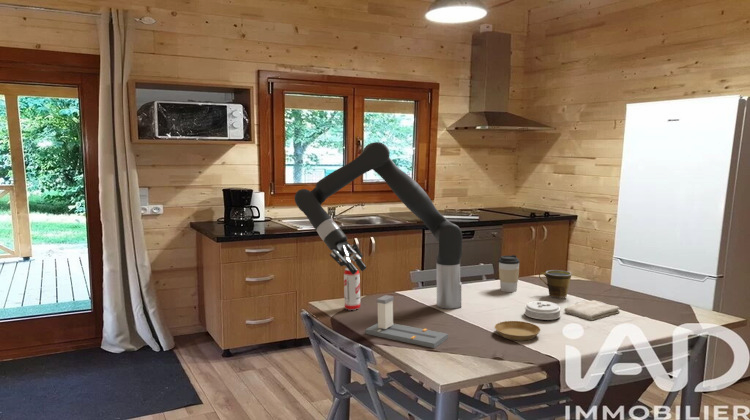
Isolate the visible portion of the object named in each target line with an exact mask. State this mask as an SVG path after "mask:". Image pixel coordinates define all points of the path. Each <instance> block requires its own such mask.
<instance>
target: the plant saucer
mask: <svg viewBox="0 0 750 420" xmlns="http://www.w3.org/2000/svg"><path fill="white" fill-rule="evenodd" d="M494 330H496V332H497V333H498V334H499V335H500V336H501V337H503V338H505V339H507V340H511V341H519V342H520V341H521V342H523V341H530V340H533V339H534V338H535V337H537V336H538V335H539V334H540V332H541V328H540V326H538V325H536V324H534V323H530V322H527V321H520V320H508V321H507V320H505V321H500V322H498V323H496V324H495V325H494Z"/></svg>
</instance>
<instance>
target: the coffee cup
mask: <svg viewBox="0 0 750 420" xmlns="http://www.w3.org/2000/svg"><path fill="white" fill-rule="evenodd" d="M497 262H498V274H499V276H498V277H499V285H500V286H499V287H500V291H501V292H504V293H505V292H506V293H514V292H517V291H518V282H519V275H520V274H519V273H520V259H519V258H518V257H517V255H515V254H512V255H501V256H500V258H499V259H498V261H497Z"/></svg>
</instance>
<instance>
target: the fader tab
mask: <svg viewBox="0 0 750 420" xmlns="http://www.w3.org/2000/svg"><path fill="white" fill-rule="evenodd" d="M394 297H395V296H392V295H387V294H385V295H383V296H381V297H378V298H376V303H377V323H378V328H383V329H387V328H388V327H390V326H392V325H393V323H394V301H395V299H394Z"/></svg>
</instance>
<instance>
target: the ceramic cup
mask: <svg viewBox="0 0 750 420" xmlns="http://www.w3.org/2000/svg"><path fill="white" fill-rule="evenodd" d="M541 275H543V276H544V277H545V278H546V281H545V280H544V279H543V278H542V277H541ZM538 278H539V279H540V280H541V281H542V282H543V283H544V284H545V285H546V287H547V289H548V295H549V297H551V298H552V299H558V300H559V299H566V298H567V297H568V296H567V295H568V291H569V286H570V282H571V279H572V272H570V271H568V270H567V271H566V270H561V269H560V270H559V269H551V270H546V271H545V272H540V273H539V274H538Z"/></svg>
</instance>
